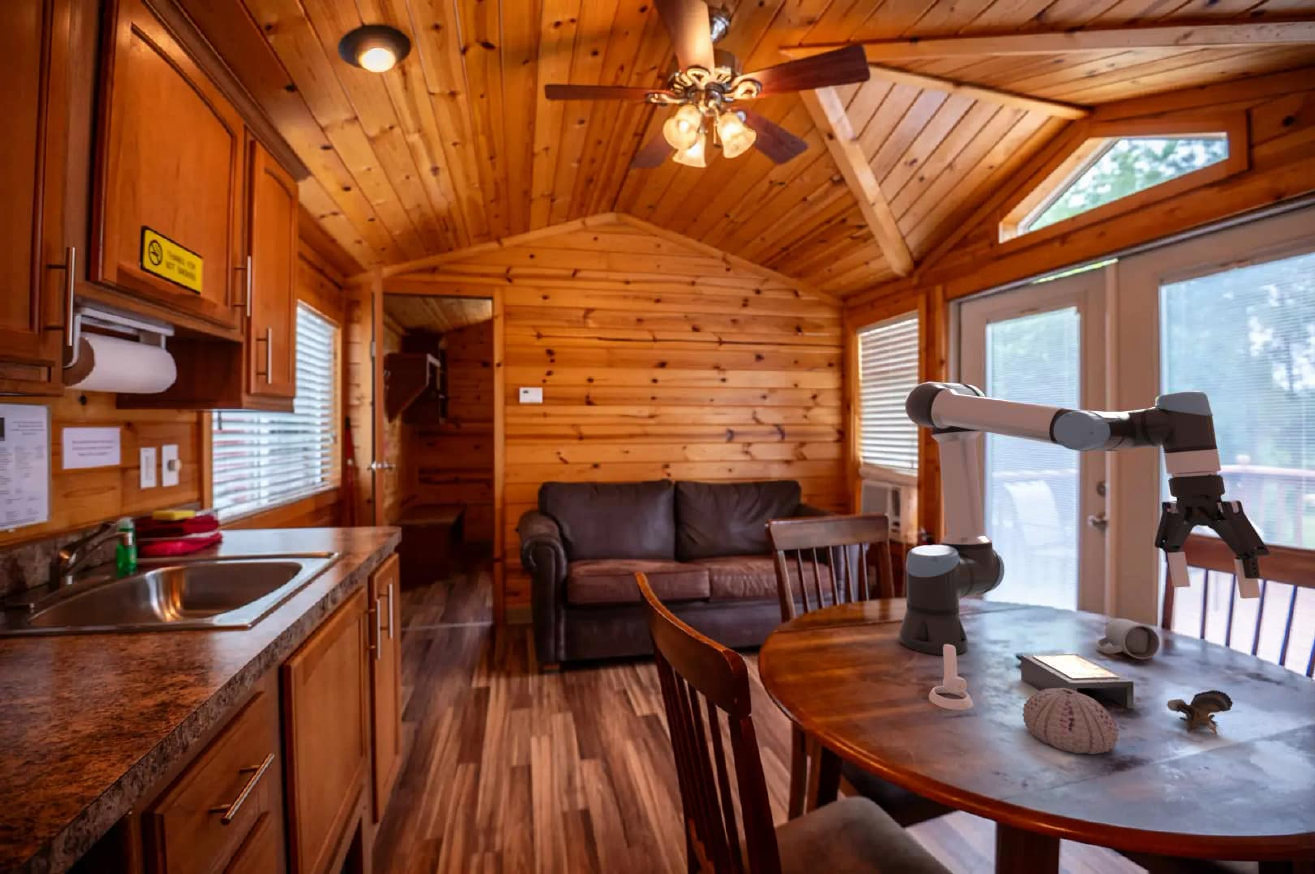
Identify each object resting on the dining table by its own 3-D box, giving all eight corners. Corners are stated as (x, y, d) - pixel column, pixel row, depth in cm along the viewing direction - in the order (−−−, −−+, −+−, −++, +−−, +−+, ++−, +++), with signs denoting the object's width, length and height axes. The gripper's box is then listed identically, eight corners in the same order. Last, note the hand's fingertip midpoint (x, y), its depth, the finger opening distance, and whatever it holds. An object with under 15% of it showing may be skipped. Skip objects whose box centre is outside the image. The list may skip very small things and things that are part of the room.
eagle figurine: (1233, 740, 96) (1247, 715, 101) (1199, 697, 98) (1214, 674, 103) (1184, 747, 101) (1199, 723, 106) (1153, 706, 104) (1169, 684, 109)
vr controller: (956, 658, 121) (974, 649, 115) (962, 720, 114) (982, 714, 109) (920, 650, 121) (936, 640, 116) (924, 712, 115) (941, 705, 109)
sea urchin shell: (1140, 753, 94) (1140, 703, 94) (1076, 767, 90) (1076, 715, 90) (1062, 716, 107) (1061, 671, 107) (1003, 726, 103) (1002, 680, 103)
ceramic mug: (1135, 647, 141) (1134, 614, 141) (1161, 659, 133) (1160, 625, 133) (1088, 646, 142) (1087, 614, 142) (1110, 659, 134) (1109, 625, 134)
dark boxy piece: (1070, 709, 109) (1070, 681, 109) (1021, 678, 123) (1020, 653, 123) (1133, 708, 109) (1133, 679, 109) (1077, 677, 123) (1076, 652, 123)
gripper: (1284, 469, 97) (1309, 601, 94) (1159, 476, 122) (1176, 581, 119) (1238, 472, 97) (1261, 604, 94) (1122, 479, 122) (1138, 583, 119)
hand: (1214, 592), depth 107 cm, fingers open, 13 cm apart
